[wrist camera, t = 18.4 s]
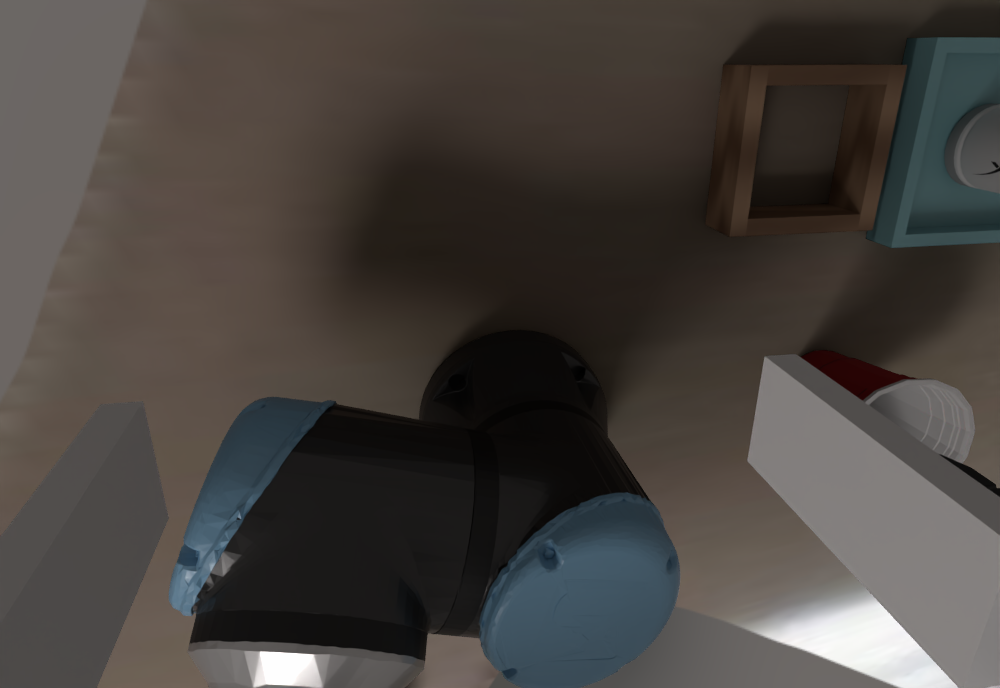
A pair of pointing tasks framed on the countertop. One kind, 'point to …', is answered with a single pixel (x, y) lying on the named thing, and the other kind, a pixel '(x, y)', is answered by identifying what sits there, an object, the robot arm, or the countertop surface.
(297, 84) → the countertop surface
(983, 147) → the travel mug
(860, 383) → the plastic cup
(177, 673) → the countertop surface
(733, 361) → the countertop surface
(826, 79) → the open wooden box
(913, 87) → the tray
